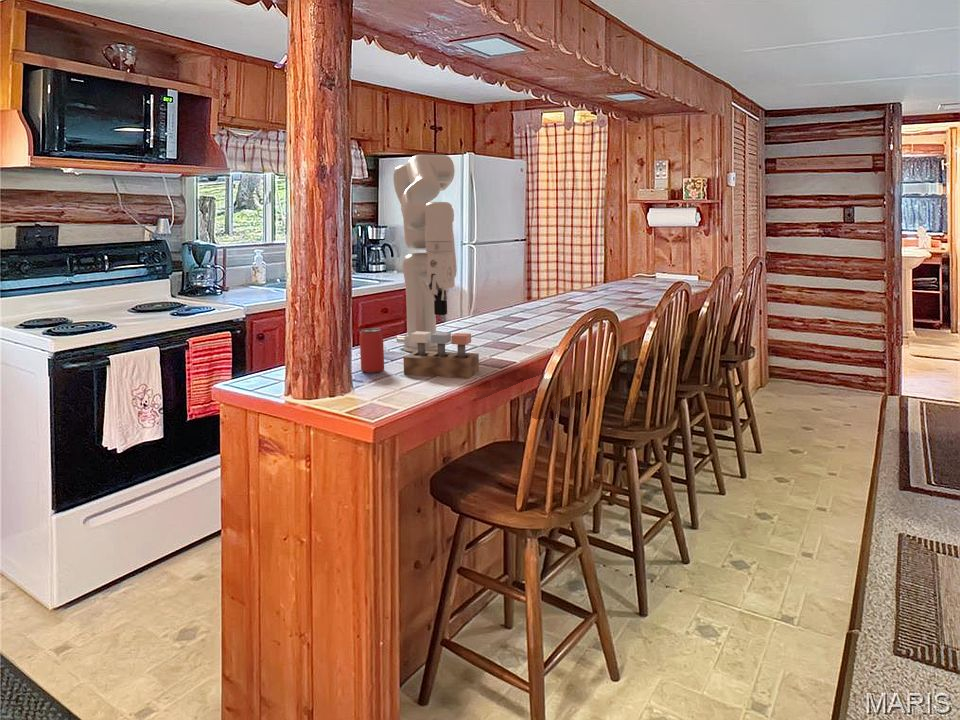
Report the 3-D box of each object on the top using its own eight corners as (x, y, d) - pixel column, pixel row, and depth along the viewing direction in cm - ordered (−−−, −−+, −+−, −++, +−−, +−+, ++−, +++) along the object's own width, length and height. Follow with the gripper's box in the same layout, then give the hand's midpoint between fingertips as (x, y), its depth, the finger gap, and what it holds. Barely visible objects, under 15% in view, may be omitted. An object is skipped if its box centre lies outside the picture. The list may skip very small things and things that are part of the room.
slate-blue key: (431, 360, 202) (430, 334, 200) (436, 357, 206) (436, 332, 204) (446, 361, 200) (445, 335, 199) (451, 358, 204) (450, 332, 203)
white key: (411, 359, 203) (410, 333, 202) (417, 356, 207) (416, 331, 206) (426, 360, 202) (425, 334, 200) (431, 357, 206) (431, 331, 205)
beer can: (356, 371, 207) (354, 329, 204) (375, 367, 211) (373, 327, 209) (370, 374, 202) (368, 332, 200) (388, 370, 207) (387, 329, 204)
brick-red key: (451, 361, 200) (451, 335, 198) (456, 358, 204) (456, 333, 202) (466, 362, 199) (466, 336, 197) (471, 359, 203) (471, 333, 201)
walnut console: (403, 374, 202) (403, 357, 201) (417, 367, 211) (416, 350, 210) (468, 378, 196) (468, 360, 195) (478, 370, 206) (478, 353, 205)
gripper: (443, 249, 188) (444, 318, 192) (460, 247, 202) (461, 311, 206) (416, 249, 190) (418, 317, 194) (435, 247, 205) (437, 310, 208)
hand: (440, 314), depth 200 cm, fingers closed
